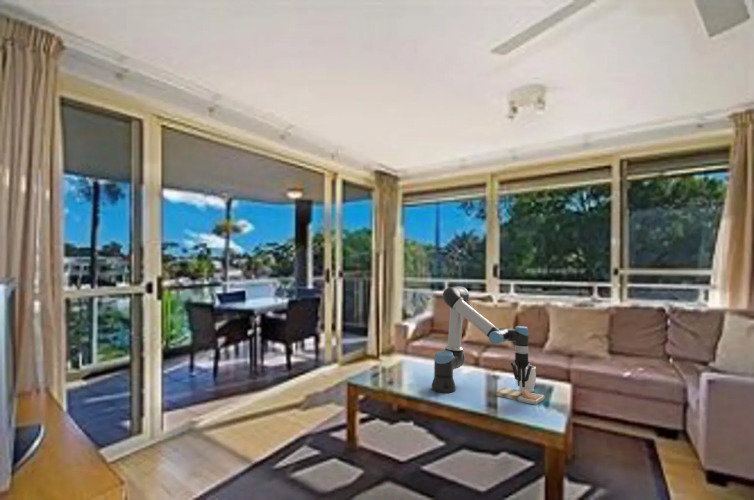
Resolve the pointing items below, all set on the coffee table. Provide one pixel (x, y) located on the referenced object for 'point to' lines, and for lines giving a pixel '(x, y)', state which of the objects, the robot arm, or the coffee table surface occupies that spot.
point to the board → (508, 393)
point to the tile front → (533, 397)
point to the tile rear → (526, 394)
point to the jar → (530, 379)
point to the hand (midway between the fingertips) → (521, 392)
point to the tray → (535, 402)
